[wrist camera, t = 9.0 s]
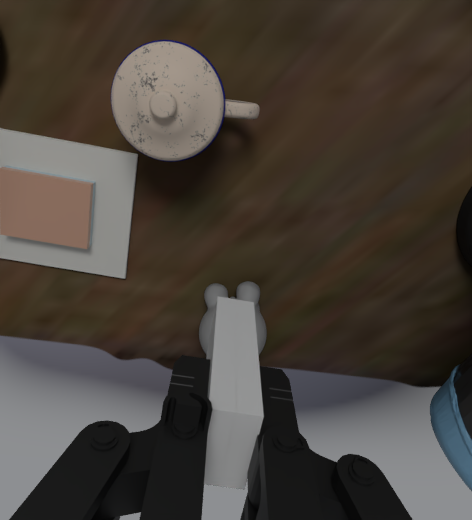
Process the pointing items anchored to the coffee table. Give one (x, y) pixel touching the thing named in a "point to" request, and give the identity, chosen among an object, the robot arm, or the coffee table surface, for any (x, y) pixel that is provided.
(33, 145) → the mat
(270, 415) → the robot arm
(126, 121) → the teacup with lid
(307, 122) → the coffee table surface
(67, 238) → the tile
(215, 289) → the chubby cartoon animal
